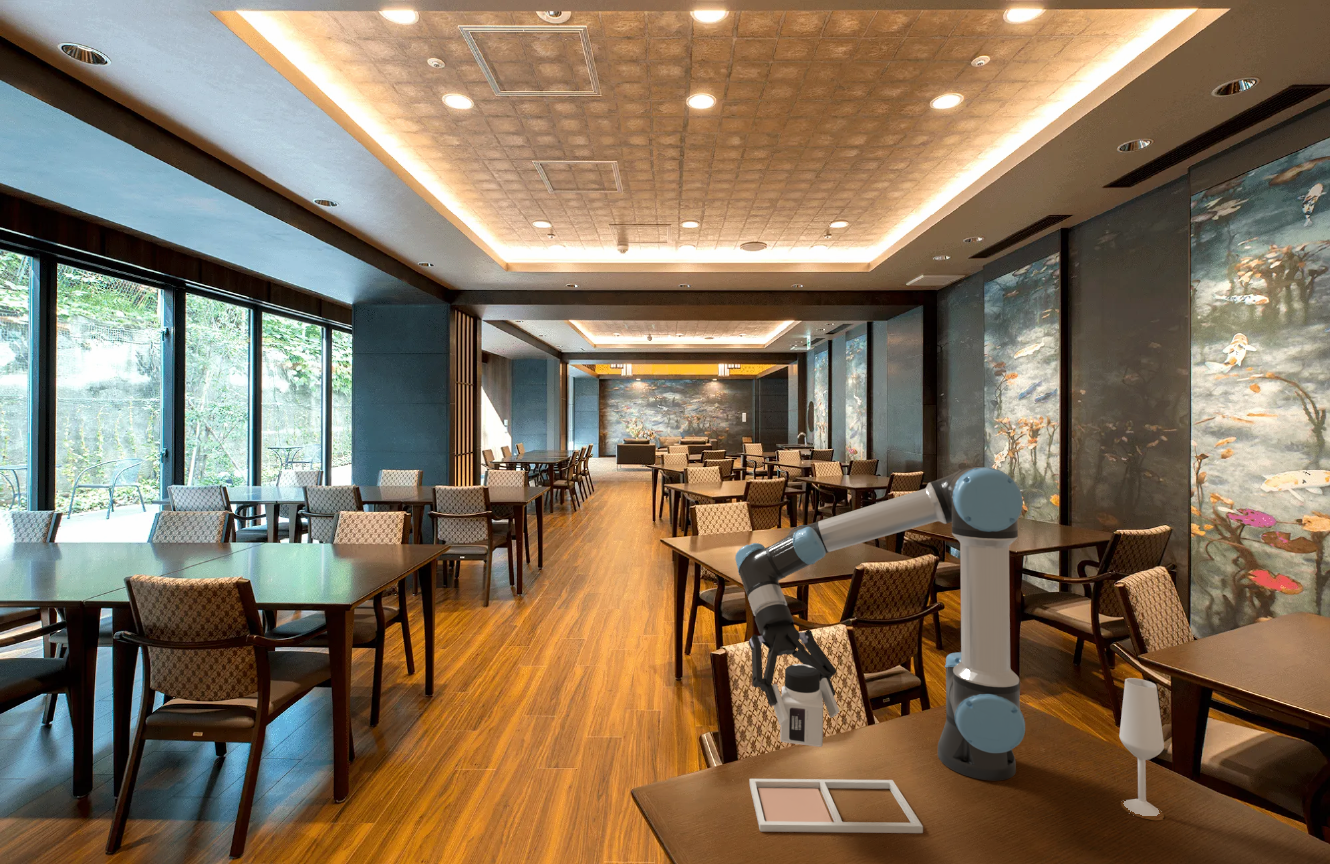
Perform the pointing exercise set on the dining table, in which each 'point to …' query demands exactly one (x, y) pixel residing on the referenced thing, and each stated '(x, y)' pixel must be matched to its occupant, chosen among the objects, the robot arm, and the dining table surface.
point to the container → (802, 706)
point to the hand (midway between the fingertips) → (809, 717)
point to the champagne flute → (1141, 735)
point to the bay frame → (819, 806)
